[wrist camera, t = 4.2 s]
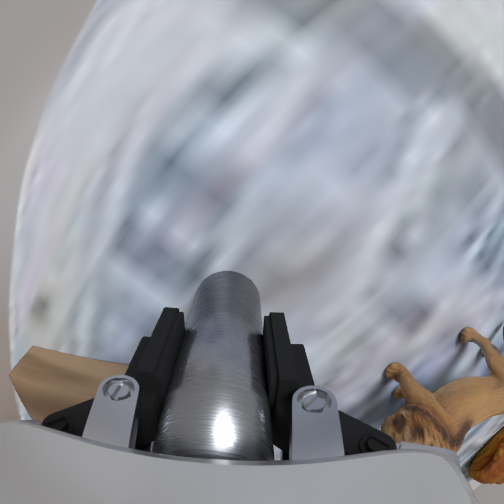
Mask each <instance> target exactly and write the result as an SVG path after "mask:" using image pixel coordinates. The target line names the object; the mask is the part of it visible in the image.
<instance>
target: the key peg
mask: <svg viewBox="0 0 504 504" xmlns="http://www.w3.org/2000/svg"><path fill="white" fill-rule="evenodd" d="M151 452H153V453H160V454H166V455H174V456H182V457H191V458H202V459H216V460H237V461H275V460H274V449H273V438H272V427H271V416H270V407H269V400H268V389H267V378H266V366H265V355H264V344H263V329H262V318H261V307H260V297H259V293H258V290H257V288H256V286H255V285H254V283H253V282H252V281H251V280H250V279H249V278H247V277H246V276H244V275H242V274H240V273H237V272H232V271H222V272H217V273H214V274H212V275H210V276H209V277H207V278H206V279H205V280H204V281H203V282H202V283H201V285H200V286H199V288H198V291H197V294H196V297H195V301H194V304H193V307H192V310H191V313H190V317H189V320H188V323H187V326H186V330H185V333H184V336H183V340H182V343H181V346H180V350H179V353H178V357H177V360H176V363H175V367H174V370H173V374H172V377H171V381H170V384H169V388H168V391H167V395H166V399H165V402H164V406H163V410H162V413H161V417H160V421H159V424H158V428H157V432H156V436H155V440H154V444H153V448H152V451H151Z"/></svg>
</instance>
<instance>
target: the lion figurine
mask: <svg viewBox="0 0 504 504" xmlns="http://www.w3.org/2000/svg"><path fill="white" fill-rule="evenodd" d="M503 339H504V327H503ZM460 341H461V342H462V343H467V342H474V343H476V344H477V345H478V346H479V347H480V348H481V349H482V350H481V355H482V356H483V357H485V360H486V363H487V366H488V368H489V372H488V374H487V376H486V377H463V378H460V379H457V380H454V381H452V382H450V383H448V384H446V385H444V386H443V387H441V388H439V389H438V390H436V391H435V392H433V393H431V392H430V391H428V390H426V389H425V388H423V387H422V386H421V385H420V384H419V383H418V382H417V381H416V380H415V378H414V377H413V376H412V375H411V374H410V372H409V371H408V370H407V369H406V368H405V367H404V366H403V365H401V364H399V363H391V364H390V365H389V366H388V367H387V368H386V370H385V374H386V377H387V378H388V379H391V378H394V379H395V380H396V381H397V382H399V383H400V386H398V387H397V388H396V389H395V390H394V393H393V395H394V397H396V398H397V399H400V398H404V399H405V401H406V404H405V405H403V406H401V407H400V408H399V409H398V411H397V412H395V413H394V414H391V415H390V416H387V417H386V418H385V421H384V423H383V424H382V426H381V431H382V432H384V433H386V434H387V435H389V436H391V437H392V439H393V440H394V441H395V443H398V444H400V443H401V442H402V441H404V442H409V443H415V444H420V445H426V446H433V447H439V448H446V449H450V450H452V451H453V452H455V453H457V452H458V450H459V449H460V447H461V445H462V442H463V440H464V437H465V435H466V433H467V432H468V431H469V430H470V429H471V427H473V426H475V425H476V424H478V423H480V422H481V421H483V420H485V419H487V418H489V417H492V416H496V415H500V414H503V413H504V357H503V356H502V355H501V353H500V351H499V350H498V348H497V347H496V346H495V345H493V344H491V343H490V341H489V340H488V339H487V338H485V337H483V336H482V335H480V334H479V333H478V332H477V331H475V330H474V329H473V328H471V327H466V328H465V329H463V331H462V332H461V335H460Z"/></svg>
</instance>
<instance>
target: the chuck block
mask: <svg viewBox="0 0 504 504" xmlns="http://www.w3.org/2000/svg"><path fill="white" fill-rule="evenodd" d="M128 366H129V365H126V364H119V363H113V362H107V361H101V360H95V359H90V358H85V357H79V356H74V355H70V354H65V353H60V352H56V351H52V350H48V349H43V348H39V347H35V346H32V347H31V348H30V349H29V351H28V352H27V353H26V354H25V355H24V356H23V358H22V359H21V360H20V361H19V362H18V363H17V365H16V366H15V367H14V368H13V369H12V371H11V372H10V373H9V377H10V379H11V382H12V384H13V386H14V388H15V390H16V392H17V393H18V395H19V397H20V399H21V401H22V403H23V405H24V406H25V408H26V410H27V412H28V414H29V415H30V417H31V419H32V420H34V419H39V421H40V422H43V420H44V419H45V418H46V417H47V416H48V415H50V414H52V413H55V412H58V411H60V410H63V409H66V408H68V407H71V406H74V405H76V404H79V403H82V402H84V401H87V400H90V399H92V398H95V395H96V392H97V390H98V387H99V385H100V383H101V382H102V381H103V380H104V379H106V378H108V377H110V376H114V375H125V373H126V371H127V369H128Z"/></svg>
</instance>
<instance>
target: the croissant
mask: <svg viewBox="0 0 504 504" xmlns="http://www.w3.org/2000/svg"><path fill="white" fill-rule="evenodd" d="M468 472H469V473H468V474H469V476H470V477H472V478H473V479H474V480H476V481H478V482H480V483H483V484H487V483H489V484H492V483H496V484H502V483H504V427H503V428H502V429H501V430H500V431H499V432H498V433H497V434H496V435H495V436H494V437H493V438H492V439H491V440H490V441H489V442H488V443H487V444H486V445H485V446H484V448H483V449H482V450H480V452H479V453H478V454H477V455H476V457H475V459H474V460H473V461H472V464H471V465H470V467H469V469H468Z"/></svg>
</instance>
